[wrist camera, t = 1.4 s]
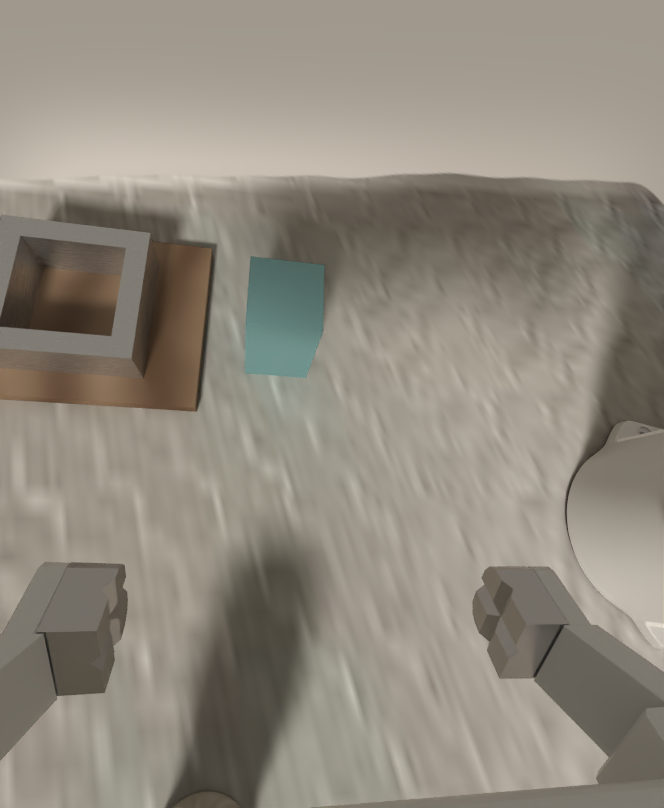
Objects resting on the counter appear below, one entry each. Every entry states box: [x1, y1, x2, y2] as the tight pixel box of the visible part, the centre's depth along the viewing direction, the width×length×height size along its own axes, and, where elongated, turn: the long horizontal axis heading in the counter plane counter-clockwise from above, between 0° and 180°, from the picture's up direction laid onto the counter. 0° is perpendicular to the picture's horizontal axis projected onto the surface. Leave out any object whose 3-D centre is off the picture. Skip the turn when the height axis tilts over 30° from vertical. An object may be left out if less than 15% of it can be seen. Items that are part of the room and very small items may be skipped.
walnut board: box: [0, 242, 213, 411], centre depth 37 cm, size 18×14×1 cm
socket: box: [0, 215, 159, 378], centre depth 34 cm, size 10×10×4 cm
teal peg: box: [245, 256, 325, 378], centre depth 35 cm, size 5×5×9 cm
